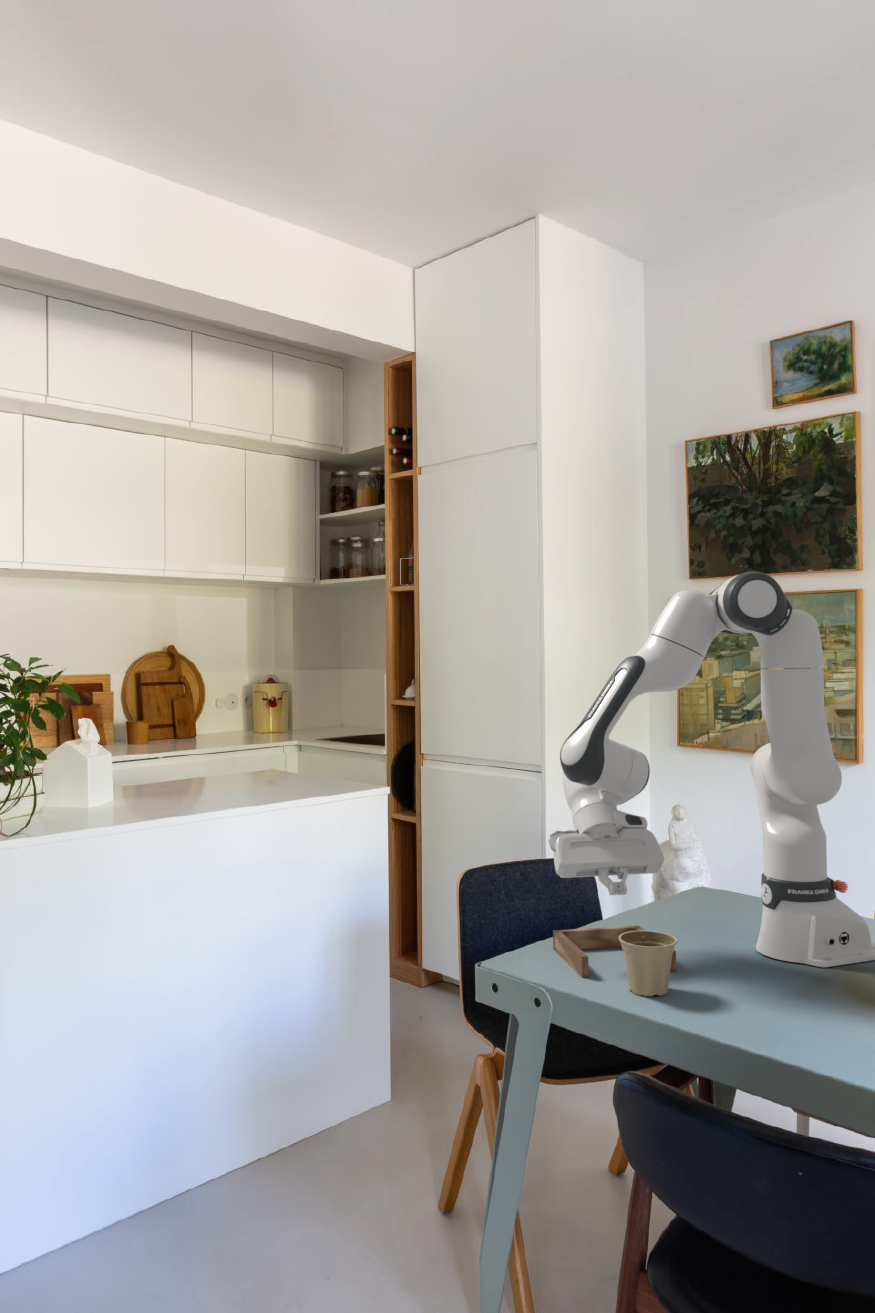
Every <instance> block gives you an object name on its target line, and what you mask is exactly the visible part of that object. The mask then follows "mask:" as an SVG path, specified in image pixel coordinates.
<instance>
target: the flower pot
mask: <svg viewBox="0 0 875 1313" xmlns="http://www.w3.org/2000/svg"><path fill="white" fill-rule="evenodd" d="M619 941H620V942H621V945H622V947H621V949H622V950H623V953H624V960H625V962H624V963H625V967H626V974H627V975H626V976H627V980H628V982H627V983H628V989H629V990H630V991H631V992H632V993H633V994H635V995H637V996H638V995H639V996H642V995H643V997H647V996H651V997H653V996H655V995H656V996H658V997H659V996H660V997H662V996H665V995H666V994H668V990H669V983H670V973H671V972H670V968H671V960H672V953H673V952H674V950H675V948H676V945H677V944H678V939H677V937H675V936H674V935H672V934H669V933H665V932H662V931H661V932H660V931H655V930H646V929H645V930H641V931H629V932H625V933H622V934H621V935H620V936H619ZM661 995H662V996H661Z"/></svg>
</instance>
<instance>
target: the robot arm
mask: <svg viewBox="0 0 875 1313" xmlns="http://www.w3.org/2000/svg"><path fill="white" fill-rule="evenodd" d="M719 633H725V634H731V635H742V634H743V635H744V634H745V635H746V634H752V636H754V638H755V639H756V641H757V643H758V647H759V651H760V705H761V706H760V709H761V710H760V711H761V713H762V716H763V717H764V721H765V723H766V724H765V725H766V729H767V734H768V738H769V742H768V743H766V744H764V745H762V746H760V747H759V748H758V749H757V750H756V751H755V752H754V754H753V755H752V757H751V759H750V773H751V775H752V778H753V781H754V787H755V793H756V799H757V800H756V801H757V805H758V811H759V817H760V822H761V823H760V824H761V829H762V846H763V847H762V848H763V850H762V851H763V856H762V857H763V873H761V877H760V878H761V880H760V881H761V882H760V884H761V886H760V887H761V888H760V889H761V901H762V902H761V903H762V915H761V924H760V929H759V933H758V938H757V942H756V946H755V950H756V951H757V952H758V953H759V954H762V955H764V956H767V957H769V958H772V959H776V960H779V961H783V962H784V961H785V962H791V963H799V964H804V965H811V966H814V967H819V968H829V967H838V966H842V965H843V966H844V965H850V964H856V963H857V964H858V963H861V962H862V963H865V962H870V961H875V943H874V942H872V939H871V933H870V927H869V925H868V923H867V922H866V920H865V918H863V917H862V915H860V914H858V913H857V912H855V910H854V909H852V908H851V907H849V906H848V905H847V904H846V903H844V901H842V900H840V899H839V898H838V897H837V893H836V891H837V892H839V893H842V894H845V893H847V891H848V890H849V889H848V888H849V885H848V883H847V882H846V881H841V880H840V879H837V880H834V879H832V878H830V877H828V868H827V867H828V865H827V864H828V863H827V862H828V861H827V860H828V856H827V854H828V853H827V852H828V850H827V835H826V831H825V829H824V827H823V825H822V821H821V817H820V813H819V809H818V805H822V804H825V803H828V802H830V801H831V800H832V799H834V798H835V796H837V795H838V793H839V791H840V789H841V785H842V780H843V776H842V770H841V767H840V765H839V763H838V762H837V760H836V758H835V755H834V751H833V746H832V740H831V735H830V732H829V726H828V723H827V716H826V709H825V686H824V685H825V682H824V680H825V677H824V656H823V655H824V654H823V646H822V645H823V644H822V639H821V633H820V629H819V625H818V621H817V620H816V618H815V617H814V616H813V615H812V614H810V613H809V612H807V611H804V610H800V609H795V608H793V606H792V603H791V602H790V601H789V599H788V598H787V596H786V595H785V592H784V590H783V589H782V587H781V586H780V584H779V583H778V581H777V580H776V579H775V578H774V577H772V576H771V575H769V574H767V573H764V572H760V571H755V570H753V571H751V570H750V571H746V572H742V573H740V574H736V575H734V576H731V577H730V578H728V579H726V581H724V582H723V583H722V584H721V585H719V586H718V587H716V588H715V589H714V590H713V591H711V592H710V593H704V592H702V591H698V590H695V589H684V590H679V591H678V592H676V593H674V594H673V596H672V597H671V598H670V600H668V602H667V604H666V605H665V607H664V608H663V609H662V611H661V613H660V614H659V616H658V617H657V619H656V620H655V623H654V625H653V627H652V629H651V631H650V633H649V635H648V637H647V639H646V640H645V642H644V644H643V645H642V646H641V648H640V649H639V650H637V652H636V653H635V654H634V655H632V656H628V657H626V658H625V659H623V660H622V661H621V662H620V663H619V664H618V666H617V667H616V668H615V669H614V671H613V673H611V676H609V678H608V679H607V681H606V683H605V684H604V686H603V688H602V689H601V691H600V692H599V693H598V695H597V697H596V699H595V700H594V702H593V703H592V704H591V706H590V707H589V709H588V711H587V712H586V714H585V715H584V717H583V718H582V720H581V722H580V723H579V724H578V726H577V727H576V728H575V729H574V730H573V731H572V732H571V733H570V734H569V736H567V738H566V739H565V740H564V742H563V744H562V746H561V749H560V752H559V761H560V766H561V770H562V785H563V786H562V787H563V791H564V795H565V798H566V802H567V805H568V807H569V809H570V810H571V813H572V823H573V826H574V827H573V828H574V829H572V830H571V829H570V830H569V829H568V830H563V831H562V830H556V831H554V832H553V833H551V834H550V835H549V836H548V844H549V847H550V849H551V851H553V863H554V870H555V873H556V875H557V876H559V877H560V878H561V879H571V878H572V879H573V878H584V877H585V878H588V877H590V878H591V877H598V881H599V882H600V883H601V885H603V886H604V887H605V888H607V891H608V894H609V896H622V895H623V896H624V895H627V893H628V887H627V883H626V882H627V878H628V875H645V874H658V873H659V872H660V871H661V869H662V867H663V865H664V862H665V855H664V853H663V851H662V848H661V846H660V843H659V841H658V840H657V838H656V836H655V834H654V833H653V832H652V831H651V830H649V829H647V828H648V821H647V818H645V817H643V816H640V815H636V814H631V813H628V812H625V811H621V810H618V806H619V805H620V806H621V805H622V804H625V803H627V802H628V801H630V800H632V799H633V798H635V797H636V796H638V795H639V794H640V793H641V792H643V790H644V789H645V788H646V786H647V785H648V782H649V779H650V774H651V772H650V770H651V769H650V764H649V760H648V758H647V756H646V755H645V754H644V753H643V752H641V751H639V750H637V749H635V748H633V747H630V746H628V745H626V744H623V743H620V742H617V741H615V740H614V739H611V738H610V735H611V733H612V731H613V729H614V728H615V727H616V725H617V723H618V722H619V720H620V719H621V717H622V715H623V714H624V712H625V710H626V709H627V708H628V706H629V704H630V703H631V702H633V700H634V699H636V698H637V697H638V696H641V695H644V694H647V693H659V692H661V693H662V692H666V693H667V692H672V691H677V690H680V689H683V688H684V687H686V686H688V685H689V684H690V683H691V682H692V681H693V680H694V679H695V677H696V676H697V674H698V672H699V670H700V669H701V666H702V663H703V661H704V659H705V658H706V655H707V652H708V651H709V648H710V645H711V643H712V642H713V640H714V639H715V638H716V636H718V635H719ZM609 876H610V877H611V876H617V880H620V881H613V880H612V879H611V878H610V877H609Z"/></svg>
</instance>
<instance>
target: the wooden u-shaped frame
mask: <svg viewBox="0 0 875 1313" xmlns="http://www.w3.org/2000/svg"><path fill="white" fill-rule="evenodd" d="M641 930H646V929H644V928H643V927H642V926H640V925H625V926H611V927H607V926H606V927H593V928H590V927H589V928H574V929H572V928H571V929H558V930H557V929H556V930H554V929H553V930H552V950H554V951H555V952H556V953H557V954H558V955H559V956H560V958H562V959H563V960H564V962H566V963H567V964H568V965H569V967H571V968H572V969H573V970H574V972H576V973H577V975H578V976H580V977H581V978H589V976H590V975H589V956H588V955H587V954H586V953H585V952H584V951H583V950H589V949H591V950H592V949H608V948H609V949H610V948H622V945H621V942H620V941H619V936H620V935H621V934H622V933H625V932H629V931H641ZM672 972H677V951H676V950H675V949H674V952H673V953H672V960H671V968H670V973H672Z"/></svg>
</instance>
